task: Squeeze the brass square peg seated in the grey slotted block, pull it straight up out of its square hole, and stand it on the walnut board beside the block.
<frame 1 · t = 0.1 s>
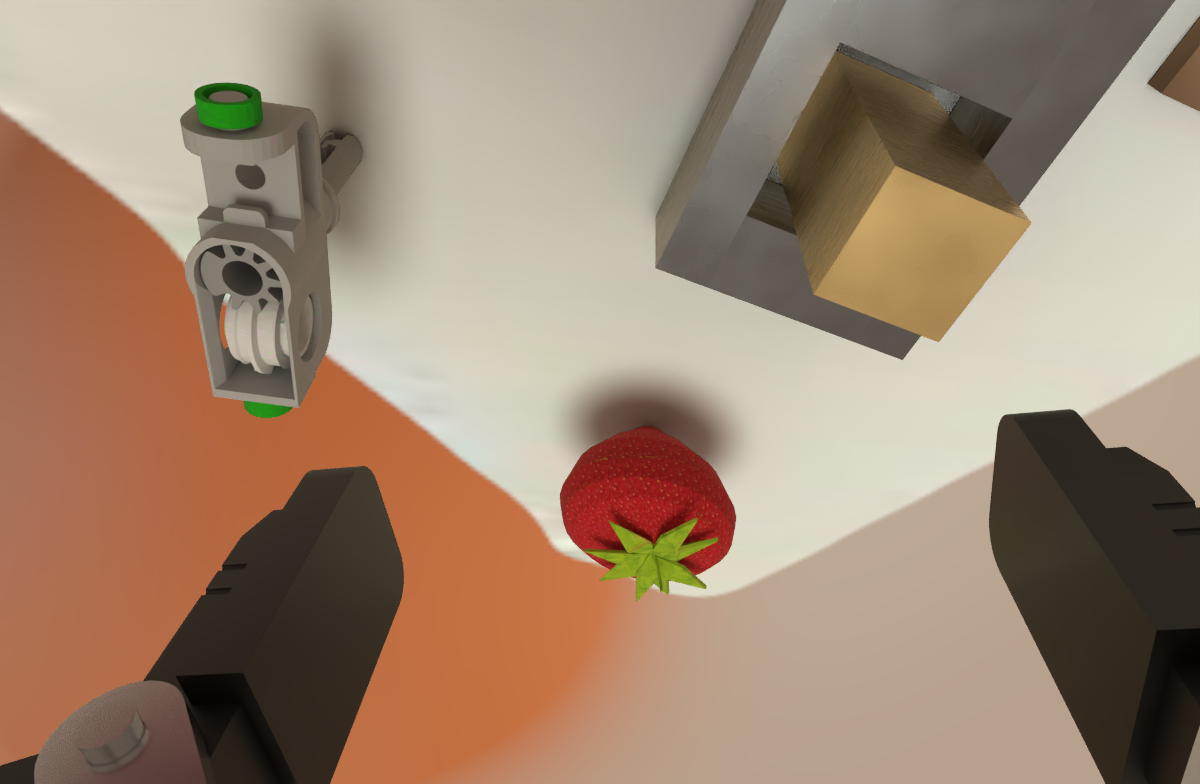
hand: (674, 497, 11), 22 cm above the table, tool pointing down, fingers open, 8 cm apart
brass peg: (850, 123, 30), resting in grey slotted block
mechanical component: (343, 147, 32), on the table
strawberry: (649, 426, 40), on the table
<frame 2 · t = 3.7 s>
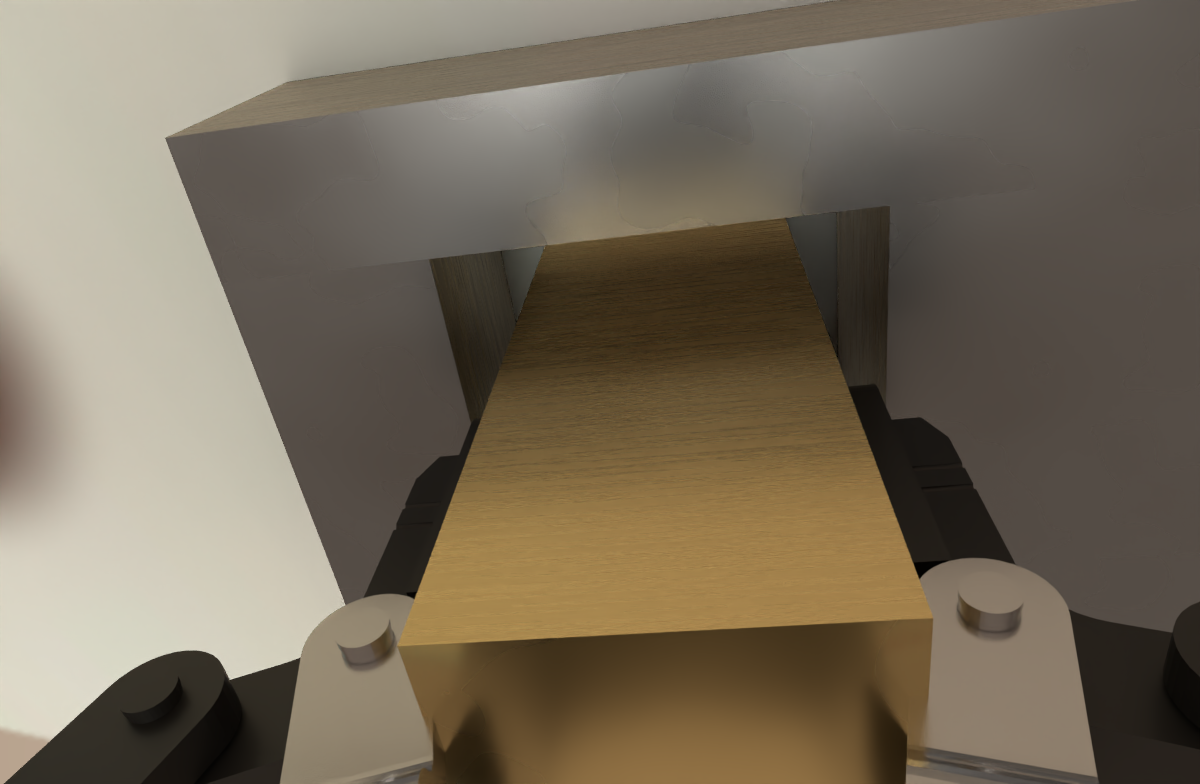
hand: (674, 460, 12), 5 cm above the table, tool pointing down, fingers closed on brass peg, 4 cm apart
brass peg: (674, 316, 16), resting in grey slotted block, touching gripper
grey slotted block: (1010, 280, 15), on the table
when the fingers open (7 cm above the table, at t = 10.1 s): brass peg stays where it is, resting on walnut board.
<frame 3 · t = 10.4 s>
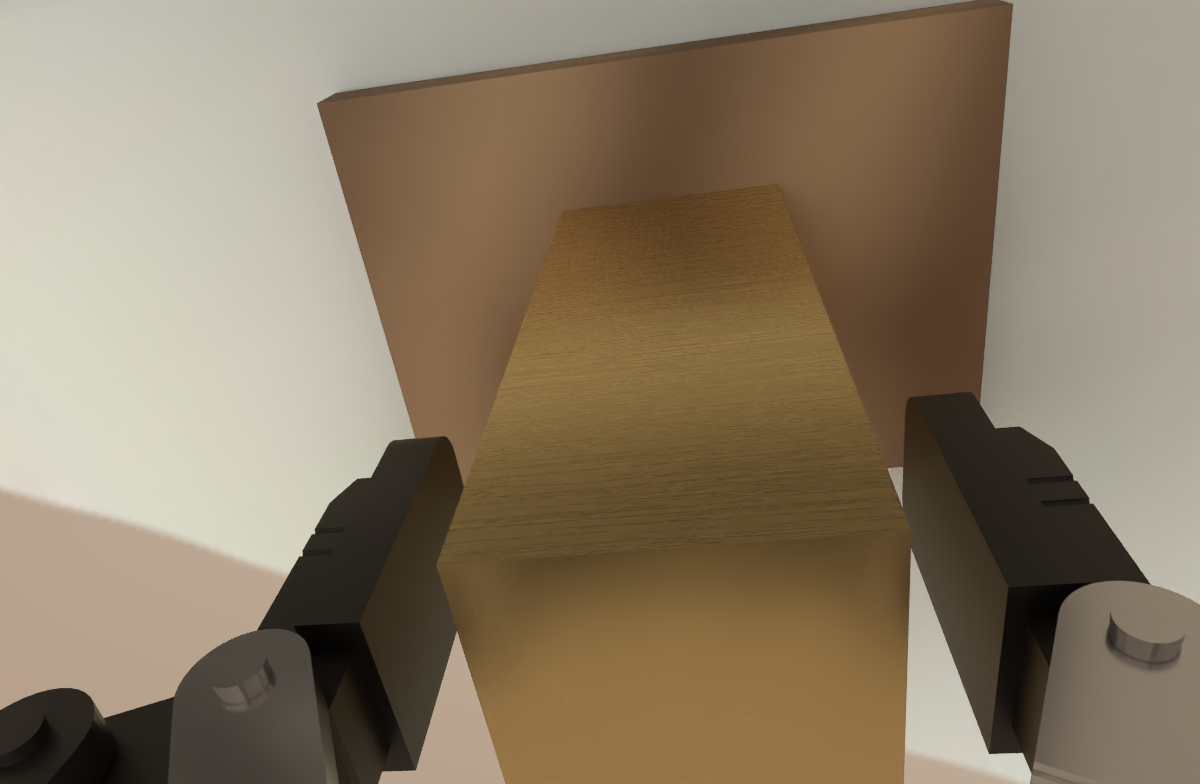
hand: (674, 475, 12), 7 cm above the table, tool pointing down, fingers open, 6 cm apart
brass peg: (678, 296, 17), point 1 cm above the table, touching walnut board
walnut board: (672, 277, 18), on the table
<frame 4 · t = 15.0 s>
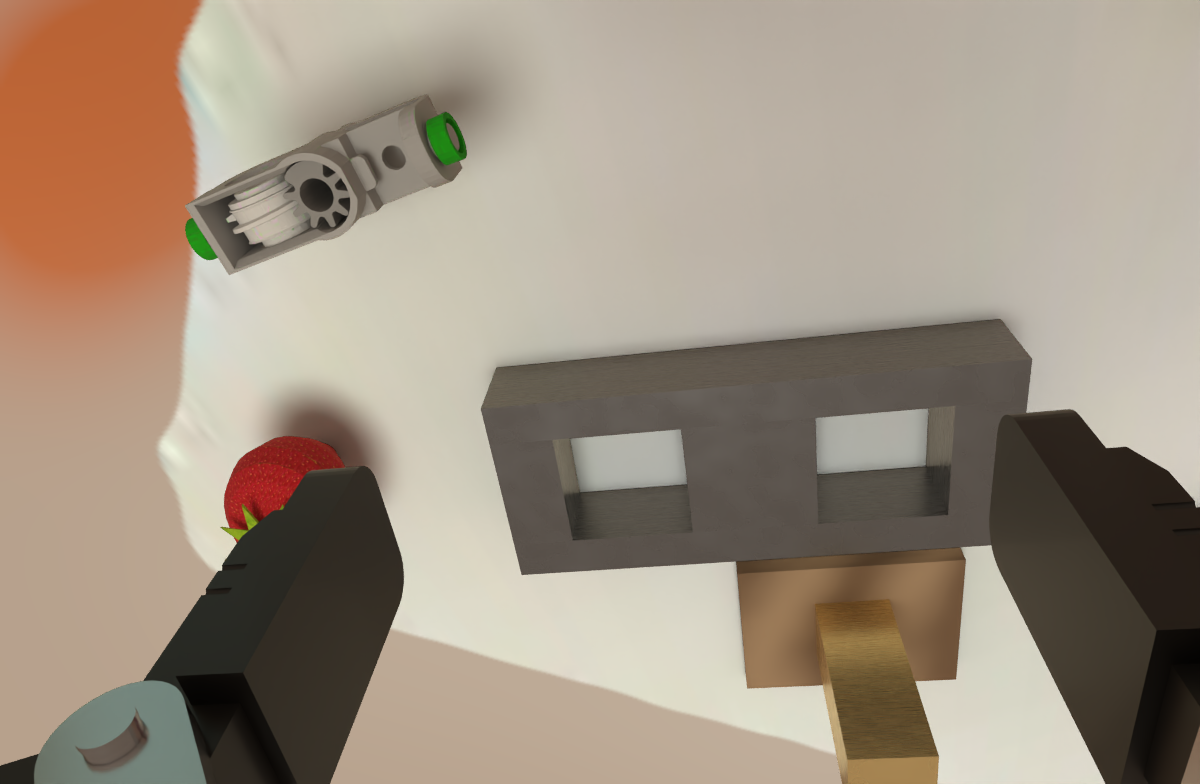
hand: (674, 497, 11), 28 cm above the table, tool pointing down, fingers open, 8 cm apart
brass peg: (852, 628, 48), point 1 cm above the table, touching walnut board
walnut board: (846, 615, 49), on the table
grey slotted block: (744, 432, 43), on the table
mechanical component: (397, 128, 37), on the table
strawberry: (332, 448, 46), on the table
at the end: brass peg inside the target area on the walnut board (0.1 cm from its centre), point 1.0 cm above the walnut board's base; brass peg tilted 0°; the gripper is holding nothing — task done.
